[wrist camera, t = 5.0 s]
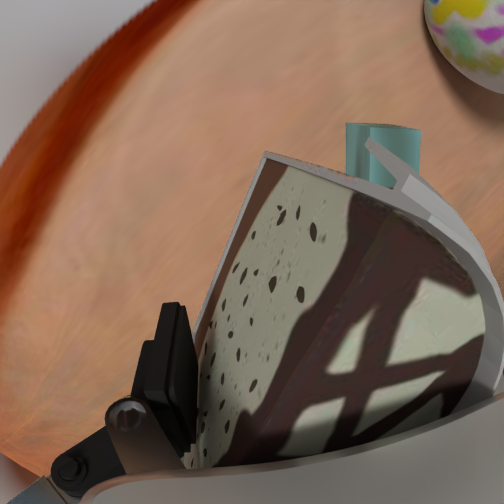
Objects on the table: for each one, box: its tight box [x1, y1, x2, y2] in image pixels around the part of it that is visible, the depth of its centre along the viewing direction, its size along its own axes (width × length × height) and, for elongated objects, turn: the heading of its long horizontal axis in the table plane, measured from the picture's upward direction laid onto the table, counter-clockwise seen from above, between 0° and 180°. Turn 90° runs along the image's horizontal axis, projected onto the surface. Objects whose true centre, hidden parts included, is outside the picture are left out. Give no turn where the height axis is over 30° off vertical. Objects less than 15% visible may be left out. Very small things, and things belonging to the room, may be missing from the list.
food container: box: [181, 137, 504, 469], centre depth 10 cm, size 12×6×10 cm, turn 158°
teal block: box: [346, 123, 421, 188], centre depth 20 cm, size 4×4×4 cm
